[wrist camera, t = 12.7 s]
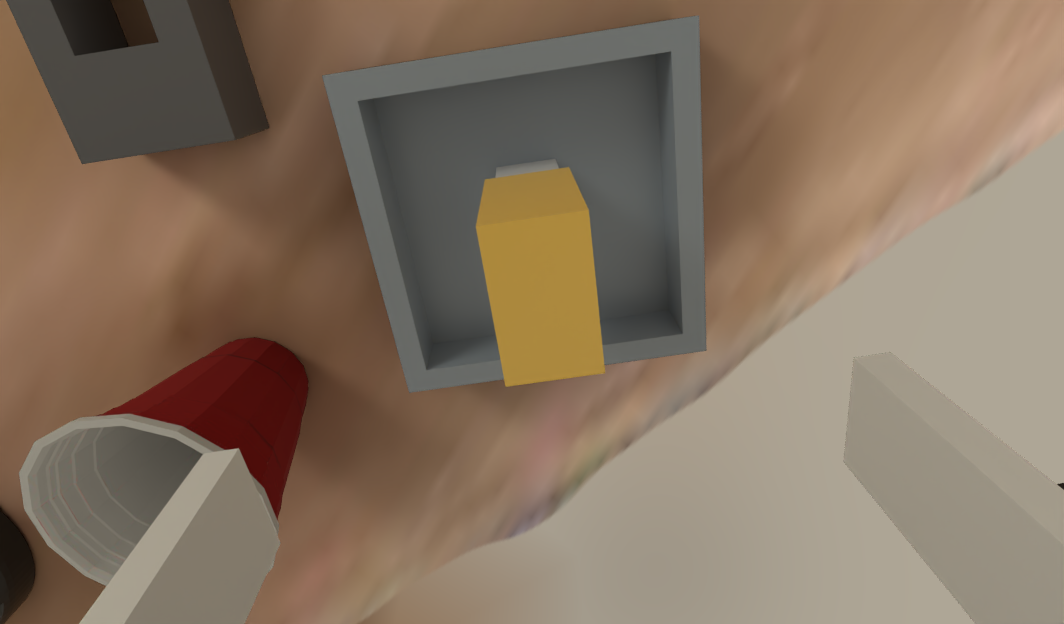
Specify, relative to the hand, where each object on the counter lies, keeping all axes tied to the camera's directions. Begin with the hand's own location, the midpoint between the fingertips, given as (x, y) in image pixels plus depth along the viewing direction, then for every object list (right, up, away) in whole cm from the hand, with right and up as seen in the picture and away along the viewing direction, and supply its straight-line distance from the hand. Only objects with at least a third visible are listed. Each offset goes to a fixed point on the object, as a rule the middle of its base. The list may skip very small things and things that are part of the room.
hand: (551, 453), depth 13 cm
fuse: (0, +8, +18) cm, 20 cm away
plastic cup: (-17, -1, +23) cm, 29 cm away
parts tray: (0, +9, +19) cm, 21 cm away
